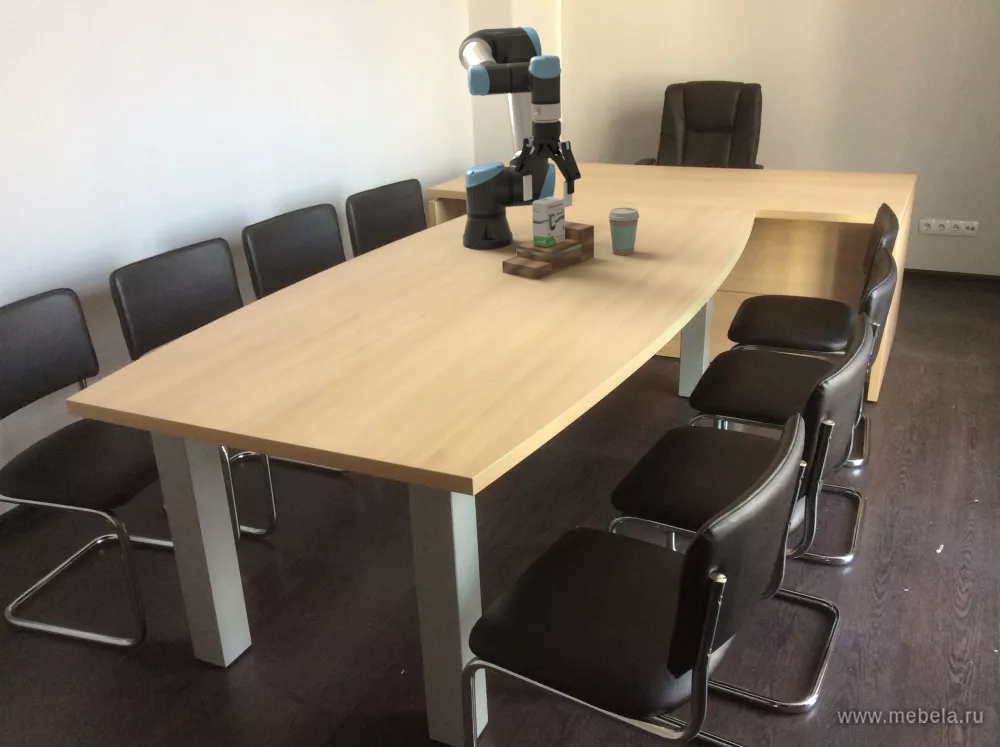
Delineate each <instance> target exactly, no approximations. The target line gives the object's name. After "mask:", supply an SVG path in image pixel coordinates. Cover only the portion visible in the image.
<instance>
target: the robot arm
mask: <svg viewBox="0 0 1000 747" xmlns="http://www.w3.org/2000/svg"><path fill="white" fill-rule="evenodd" d="M542 51H543V50H542V44H541V40H540V37H539V34H538V33H537V30H535V29H534V28H533V27H530V26H528V27H526V26H524V27H523V26H518V27H503V28H502V27H501V28H484V29H479V30H477V31H474V32H472V33H471V34H470V35H467V36H466V38H464V40H463V41H461V44H460V46H459V48H458V58H459V62H460V64H461V66H462V67H463V68H464V69H465V70H466V71H467V87H468V92H469V94H470V95H471V96H481V97H485V96H493V95H494V96H495V95H506V99H507V106H508V115H509V117H508V118H509V126H510V134H511V143H512V144H511V145H512V153H513V154H512V155H513V156H512V157H511V158H510V160H509V162H508V163H509V164H508V165H509V166H505V164H504V162H503V161H488V162H484V163H479V164H476V165H473V166H470V167H469V168H468V169H467V170H466V171H465V174H464V176H465V177H464V178H465V179H464V180H465V181H464V183H465V184H464V188H465V198H466V200H465V201H466V216H467V217H466V223H465V226H464V233H463V234H462V245H463V246H464V247H466V248H469V249H476V250H493V249H500V248H504V247H507V246H510V245H511V244H513V243H514V235H513V232H512V231H511V227H510V224H509V221H508V218H507V208H510V207H527V206H529V207H530V206H532V202H533V201H536V200H539V199H543V198H547V197H554V196H555V188H556V174H557V173H556V166H557V168H558V169H559V171H560V173H561V175H562V176H563V178H564V179H565V180H564V181H563V198H564V207H565V208H568V207H571V206H573V194H575V181H576V180H579V179H581V177H582V175H581V172H580V169H579V166H578V164H577V162H576V158H575V157H574V153H573V151H572V145H571V144H572V143H571V141H570V140H567V141H566V140H565V141H561V139H560V137H561V135H562V122H561V121H560V120H561V118H562V103H561V102H562V101H561V97H562V96H561V74H562V68H561V60H560V57H559V56H558V55H549V54H548V55H543V53H542ZM549 159H551V160H552V161H553V162H554V163H555V164H554V163H553V162H552V163H551V162H550V163H549ZM555 165H556V166H555Z"/></svg>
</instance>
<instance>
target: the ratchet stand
mask: <svg viewBox="0 0 1000 747" xmlns="http://www.w3.org/2000/svg"><path fill="white" fill-rule="evenodd" d="M515 247H516V248H515V251H516V256H513V257H511V258H507V259H505V260H502V262H501V264H502V266H501V268H502V269H501V270H502V273H504V274H510V275H514V276H519V277H523V278H529V279H532V280H539V279H540V280H541V279H543V278H544V277H547V276H550V275H553V274H555V273H558V272H560V271H563V270H566V269H569V268H570V267H573V266H575V265H577V264H581V263H583V262H586V261H588V260H591V259H594V258H595V225H593V224H588V223H587V224H585V223H580V222H574V221H566V220H565V241H563V242H560V243H558V244H555V245H552V246H550V247H542V246H536V245H533V239H532V240H531V239H530V240H528V241H525V242H523V243H519V244H517V245H516V246H515Z"/></svg>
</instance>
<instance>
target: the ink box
mask: <svg viewBox="0 0 1000 747" xmlns="http://www.w3.org/2000/svg"><path fill="white" fill-rule="evenodd" d="M531 206H532V210H531V211H532V240H533V245H536V246H542V247H550V246H552V245H555V244H558V243H560V242H563V241H565V221H566V218H565V216H566V215H565V214H566V212H565V210H566V209H565V208H566V207H564V197H563V198H562V197H556V196H553V197H547V198H543V199H539V200H536V201H533V202H532V205H531Z"/></svg>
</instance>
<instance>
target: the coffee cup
mask: <svg viewBox="0 0 1000 747" xmlns="http://www.w3.org/2000/svg"><path fill="white" fill-rule="evenodd" d="M639 218H640V214H639V211H638V209H637V208H634V207H615V208H612V209H610V211H609V214H608V219H609V220H608V221H609V226H610V230H609V231H610V238H611V247H612V253H613V254H614V255H616V256H629V254H630V255H632V254H634V250H635V243H636V237H637V231H638V221H639Z"/></svg>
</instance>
